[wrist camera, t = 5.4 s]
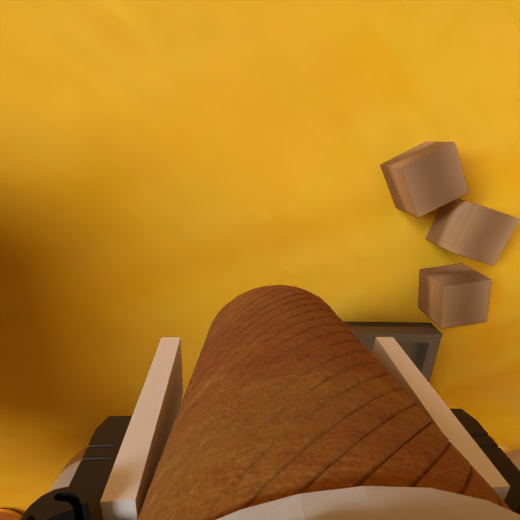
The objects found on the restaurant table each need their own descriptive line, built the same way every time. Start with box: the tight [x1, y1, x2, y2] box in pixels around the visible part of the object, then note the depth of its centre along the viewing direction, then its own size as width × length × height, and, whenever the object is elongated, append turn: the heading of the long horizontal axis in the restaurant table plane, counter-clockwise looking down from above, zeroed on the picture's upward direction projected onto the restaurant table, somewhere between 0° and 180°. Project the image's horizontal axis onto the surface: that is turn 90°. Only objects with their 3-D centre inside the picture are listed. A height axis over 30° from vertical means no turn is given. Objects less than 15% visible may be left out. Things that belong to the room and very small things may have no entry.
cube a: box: [418, 263, 491, 329], centre depth 30 cm, size 4×4×4 cm
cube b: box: [425, 199, 520, 266], centre depth 28 cm, size 4×4×4 cm
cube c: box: [380, 142, 469, 217], centre depth 27 cm, size 4×4×4 cm
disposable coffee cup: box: [137, 285, 520, 520], centre depth 10 cm, size 10×10×12 cm
